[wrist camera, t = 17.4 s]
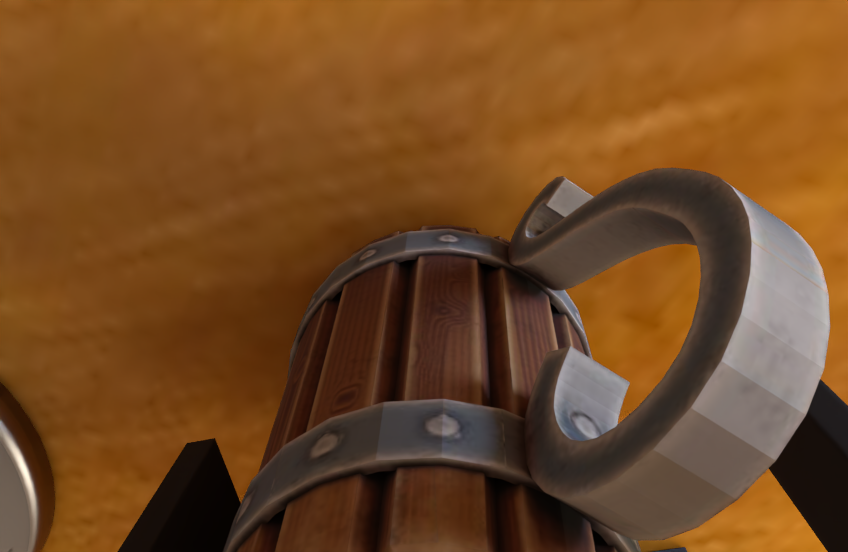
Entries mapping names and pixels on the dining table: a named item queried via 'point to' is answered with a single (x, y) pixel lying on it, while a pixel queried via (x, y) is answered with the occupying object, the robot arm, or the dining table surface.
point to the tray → (674, 550)
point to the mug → (537, 383)
